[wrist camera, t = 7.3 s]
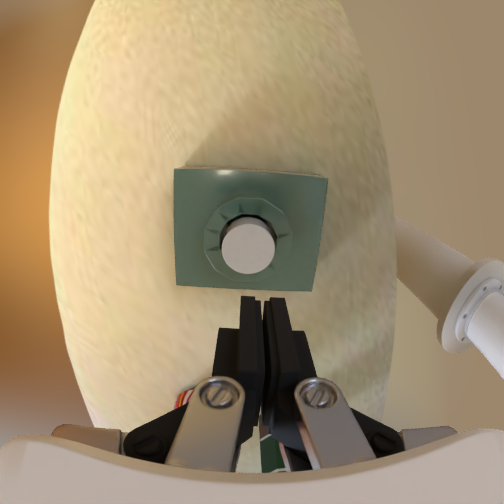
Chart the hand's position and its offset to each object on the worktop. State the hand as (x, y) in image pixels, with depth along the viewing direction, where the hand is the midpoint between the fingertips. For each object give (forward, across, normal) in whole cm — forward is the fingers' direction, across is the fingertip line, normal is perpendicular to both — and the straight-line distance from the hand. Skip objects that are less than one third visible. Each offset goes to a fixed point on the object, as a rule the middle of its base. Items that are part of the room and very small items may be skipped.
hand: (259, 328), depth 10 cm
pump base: (+15, 0, 0) cm, 15 cm away
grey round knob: (+11, 0, 0) cm, 11 cm away
